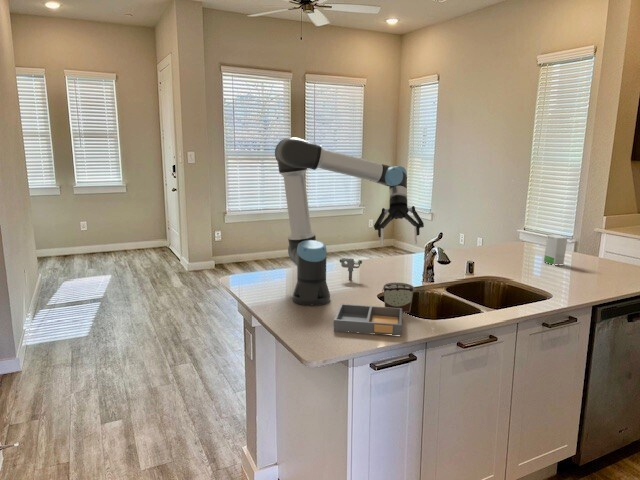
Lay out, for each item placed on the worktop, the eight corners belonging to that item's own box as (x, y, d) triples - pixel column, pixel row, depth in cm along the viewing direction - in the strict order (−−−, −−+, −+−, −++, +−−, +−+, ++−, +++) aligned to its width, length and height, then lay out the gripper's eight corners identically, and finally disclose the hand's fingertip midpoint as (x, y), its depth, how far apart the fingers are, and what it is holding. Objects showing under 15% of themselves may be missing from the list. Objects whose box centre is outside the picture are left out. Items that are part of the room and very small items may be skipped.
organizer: (333, 331, 154) (333, 320, 153) (340, 314, 170) (340, 303, 169) (400, 337, 150) (401, 325, 149) (401, 318, 166) (402, 308, 166)
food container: (410, 306, 179) (411, 282, 177) (413, 312, 173) (415, 286, 171) (378, 306, 179) (379, 282, 177) (381, 312, 173) (382, 286, 171)
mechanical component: (360, 281, 212) (361, 260, 210) (338, 280, 214) (339, 259, 212) (361, 279, 215) (362, 259, 213) (339, 278, 217) (340, 257, 215)
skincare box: (543, 262, 253) (546, 234, 250) (553, 261, 255) (556, 234, 252) (554, 266, 245) (557, 237, 242) (564, 265, 247) (568, 237, 244)
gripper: (428, 201, 196) (430, 245, 186) (370, 205, 202) (369, 248, 192) (427, 191, 190) (430, 236, 180) (368, 196, 196) (366, 239, 186)
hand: (398, 242), depth 186 cm, fingers open, 13 cm apart
